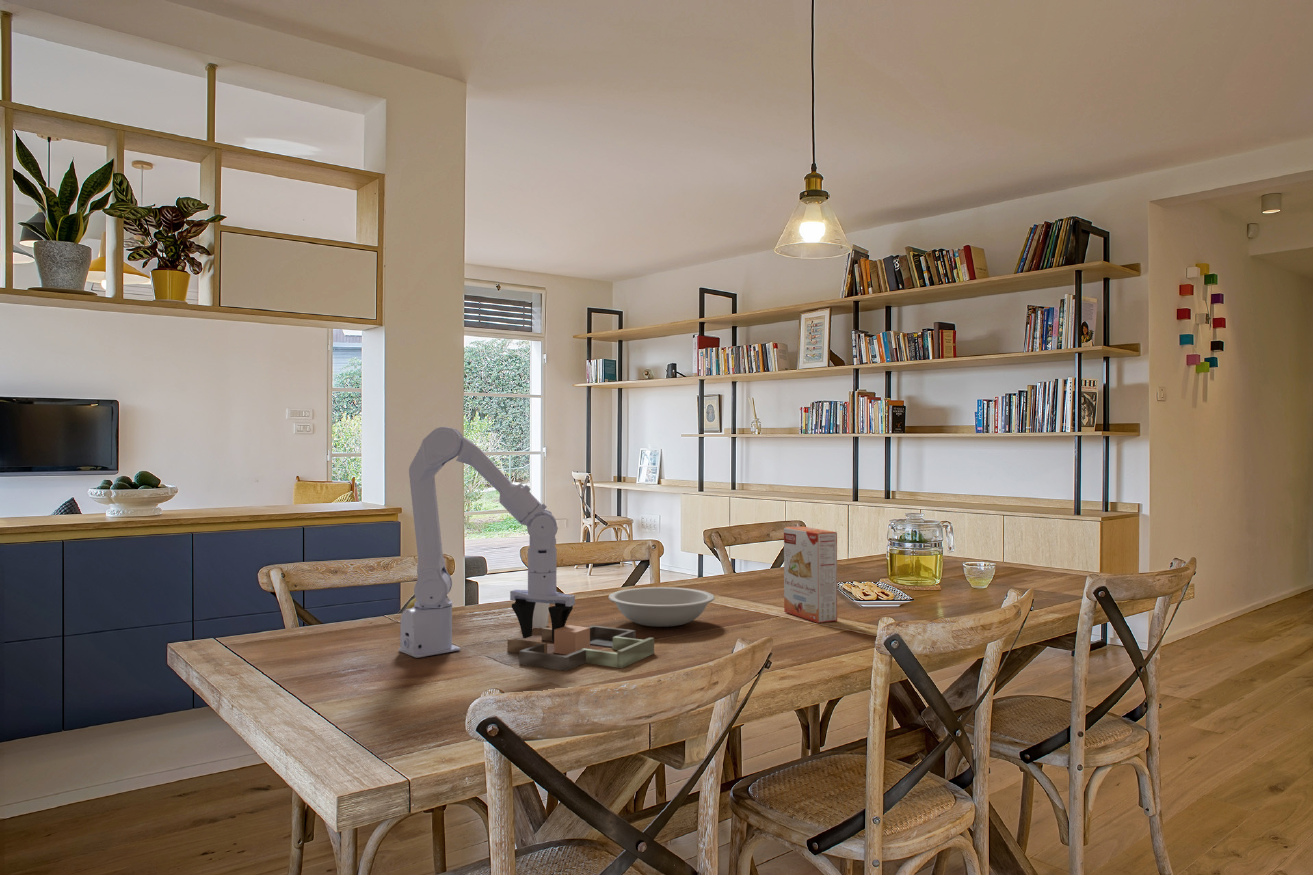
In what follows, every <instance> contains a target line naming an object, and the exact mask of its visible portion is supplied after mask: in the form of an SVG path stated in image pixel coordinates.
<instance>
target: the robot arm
mask: <svg viewBox="0 0 1313 875" xmlns="http://www.w3.org/2000/svg"><path fill="white" fill-rule="evenodd" d="M455 458H456V459H455ZM454 459H455V461H456V462H457V463H462V464H465V465H469V466H471V467H472V468H473V469H474V470H475V471H476V472H477V473H478V474H479V475H480V476H482V478H483V479H484V480H485V481H486V482H488V483H489V484H490V485H491V486H492V487H493V488H494V489H495V490H496V491H497V492H498V493H499V498H498V500H499V504H500V505H501V506H502V507H503V508H504V509H505V510H506V511H507V512H508V513H509V514H510V515H511V516H512V517H513V518H514V519H515V520H516V521H517V522H518V524H520V525H521V526H522V525H523V526H525V527H526V531H527V534H528V536H529V547H528V549H527V589H513V590H510V592H509V593H510V594H509V596H510V597H509V599H510V601H514V603H511V609H512V610H513V612H514V613H515V616H516V618H517V620H518V623H519V626H520V631H521V634H522V638H523V639H527V638H531V637H532V636H533V629H532V625H533V613H534V608H535V604H536V602H538V603H547V604H550V605H553V606H549V608H548V610H549V616H550V623H551V628H552V640H553V641H552V643H554V630H555V629H558V628H561V627H564V626H566V623H567V620H568V618H569V616H570V615H571V612H572V610H573V608H574V606H575V605H576V595H574V594H567V593H562V592H560V591H559V592H558V590H557V570H558V568H557V566H558V565H557V563H558V562H557V560H558V559H557V557H558V556H557V553H558V552H557V551H558V550H557V547H556V544H557V538H556V534H557V532H558V529H559V527H558V524H557V520H556V517H555V516H554V515H553V514H552V512H551V511H550V510H547V505H546V503H541V502H540V501H539V500H538V499H537V498H536V497H535V496H534V495H533V493H532V492H531V488H530V487H529V485H527V484H526V485H523V483H522V482H519V481H518V482H511V481H510V480H509V479H508V477H507V476H506V475H505V474H504V473H503V472H502V471H501V470H500V468H498V466H497V465H496V464H495V463H494V462H493V461H492V460H491V459H490V458H489V457H488V456H487V455H486V454H485V452H483V450H482V449H481V448H480V447H479V446H477V445H476V444H475V443H474V442H473V441H472V440H470V439H468V438H467V437H465V436H463V434H462V433H461V432H460V431H459V430H458V429H456V428H453V427H448V426H439V427H436V428H434V429H433V430H432V431H431V432H430V433H429V434H428V435H426V436H425V437H424V438H423V439H422V441H421V443H420V446H419V449H418V450H417V452H416V454H415V456H414V458H413V460H412V461H411V463H410V465H409V467H408V475H409V476H408V477H409V487H410V494H411V503H412V504H411V505H412V514H413V525H414V532H415V542H416V543H415V544H416V550H417V551H416V553H417V565H416V567H417V568H416V574H417V578H416V582H415V584H414V588H413V593H414V594H413V595H414V598H416V600H417V601H416V602H415V603H414V607H413V608H411V609H406V608H405V609H404V610H403V611H402V614H401V615H400V623H399V624H400V634H399V636H400V637H399V639H400V642H399V643H400V644H399V646H400V647H399V648H398V651H399V652H401V653H404V654H406V655H408V656H410V657H413V658H416V659H418V658H424V657H429V656H435V655H442V654H445V653H446V654H447V653H453V652H458V651H461V647H459V646H457V645H455V644H453V601H452V600H451V599H450V598H449V596H448V594H449V593H450V592H451V590H452V588H453V580H452V576H451V575H450V573H449V572H448V570H447V567H446V561H445V556H444V553H443V544H442V536H441V526H440V525H441V524H440V516H439V508H438V506H439V505H438V498H437V488H436V481H435V480H436V477H435V476H436V475H437V474H438V472H439V471H440V470H441V469H442V468H443V467H444V466H445V464H447V463H449V461H451V460H454Z"/></svg>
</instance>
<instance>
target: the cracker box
mask: <svg viewBox="0 0 1313 875" xmlns="http://www.w3.org/2000/svg"><path fill="white" fill-rule="evenodd" d="M783 592H784V593H783V597H784V598H783V603H784V604H783V606H784V607H783V609H784V611H783V612H784V613H787V614H790V615H793V616H795V617H798V618H802V619H803V620H804V619H805V620H807V621H810V622H813V623H817V624H822V623H823V624H824V623H830V622H837V621H838V532H837V531H833V530H825V529H819V528H814V527H809V526H808V527H807V526H802V525H800V526H786V527H784V528H783Z"/></svg>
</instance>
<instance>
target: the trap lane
mask: <svg viewBox="0 0 1313 875" xmlns="http://www.w3.org/2000/svg"><path fill="white" fill-rule="evenodd" d="M587 627H588V628H590V646H597V647H598V646H599V647H605V648H612V650H615V652H614V651H608V650H601V649H600V650H599V649H592V648H590V649H586V648H583V649H581V650H578V651H576V652H573V653H571V654H568V655H565V654H557V653H548V643H547V642H553V640H552V627H544V628H541V641H546V642H539V641H533V640H526V639H519V638H518V639H517V638H512V637H511V638H508V639H507V642H506V643H507V652H508V653H514V654H515V653H516V654H518V655H519V658H518V663H519V665H523V666H530V667H537V668H542V667H543V669H549V670H550V669H552V670H556V669H558V671H562V670H563V671H564V672H567V670H568V671H570V670H572V669H574V667H575V668H577V667H580V666H581V665H584V664H590V665H591V664H592V665H598V666H605V667H611V668H618V669H619V668H620V669H623V668H625V667H627V666H630V665H633V664H634V663H636V662H638V661H641V660H643V659H645V658H648V657H649V656H651V655H654V654H655V638H654V637H647V638H645V639H641V638H640V639H639V638H636V630H633V629H627V628H617V627H610V626H609V627H608V626H603V625H602V626H600V625H590V626H587ZM579 665H580V666H579ZM569 669H570V670H569ZM563 671H562V672H563Z"/></svg>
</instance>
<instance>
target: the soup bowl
mask: <svg viewBox="0 0 1313 875" xmlns="http://www.w3.org/2000/svg"><path fill="white" fill-rule="evenodd" d="M715 598H716V597H715V595H714V594H712V593H711V592H708V591H705V590H699V589H695V588H694V589H693V588H687V587H686V588H685V587H672V586H671V587H666V586H665V587H664V586H663V587H662V586H658V587H657V586H656V587H654V586H652V587H651V586H649V587H648V586H647V587H636V588H635V587H634V588H628V589H622V590H618V591H615V592H611V593H610V594H609V595H608V600H609V601H611V602H612V603H615V606H616V608H617V609H618V610H619V612H620V613H621V614H622V615H623V616H624V617H625V618H626V619H627V620H629V621H631V622H633V623H634V624H637V625H642V626H647V627H659V628H661V627H662V628H663V627H664V628H665V627H667V628H668V627H677V626H683V625H686V624H688V623H689V624H690V623H691V622H693V621H694V620H696V619H697V618H698V617H700V615H702V613H703V612H704V611H706V610H705V609H706V608H707V607H708V605H709V604H710V603H712V602H713V601H714V600H715Z"/></svg>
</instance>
